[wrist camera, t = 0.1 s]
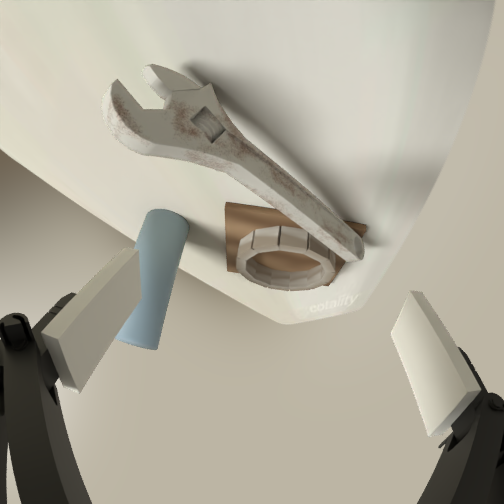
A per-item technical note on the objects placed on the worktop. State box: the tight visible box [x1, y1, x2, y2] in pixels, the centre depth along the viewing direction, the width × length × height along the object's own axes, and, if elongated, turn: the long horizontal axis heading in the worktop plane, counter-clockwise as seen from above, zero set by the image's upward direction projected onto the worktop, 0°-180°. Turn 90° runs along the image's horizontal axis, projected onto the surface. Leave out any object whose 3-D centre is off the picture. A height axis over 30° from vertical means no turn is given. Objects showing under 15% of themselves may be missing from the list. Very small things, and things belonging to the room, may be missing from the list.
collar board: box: [225, 202, 366, 291], centre depth 38 cm, size 16×16×3 cm
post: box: [115, 209, 189, 350], centre depth 34 cm, size 6×6×16 cm
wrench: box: [101, 64, 365, 262], centre depth 24 cm, size 8×2×30 cm
